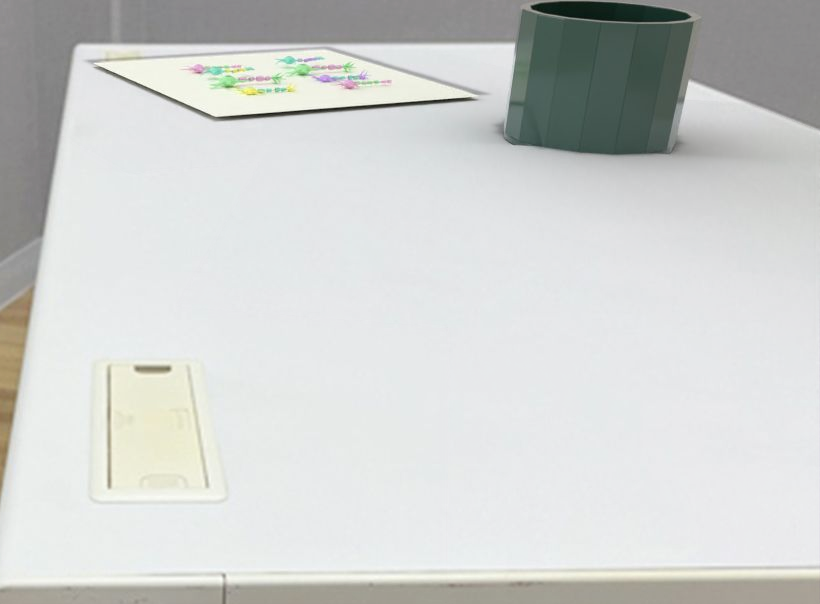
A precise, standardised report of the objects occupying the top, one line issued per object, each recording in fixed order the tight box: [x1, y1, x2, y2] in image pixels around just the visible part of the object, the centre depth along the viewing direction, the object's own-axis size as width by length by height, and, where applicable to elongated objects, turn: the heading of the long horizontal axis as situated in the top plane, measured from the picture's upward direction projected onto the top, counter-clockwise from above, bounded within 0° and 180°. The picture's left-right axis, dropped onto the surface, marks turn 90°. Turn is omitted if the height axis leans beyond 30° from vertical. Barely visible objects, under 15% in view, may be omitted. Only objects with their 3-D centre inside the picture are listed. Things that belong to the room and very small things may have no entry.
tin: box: [503, 0, 703, 155], centre depth 104 cm, size 15×15×10 cm
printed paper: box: [93, 49, 479, 118], centre depth 127 cm, size 30×30×2 cm
